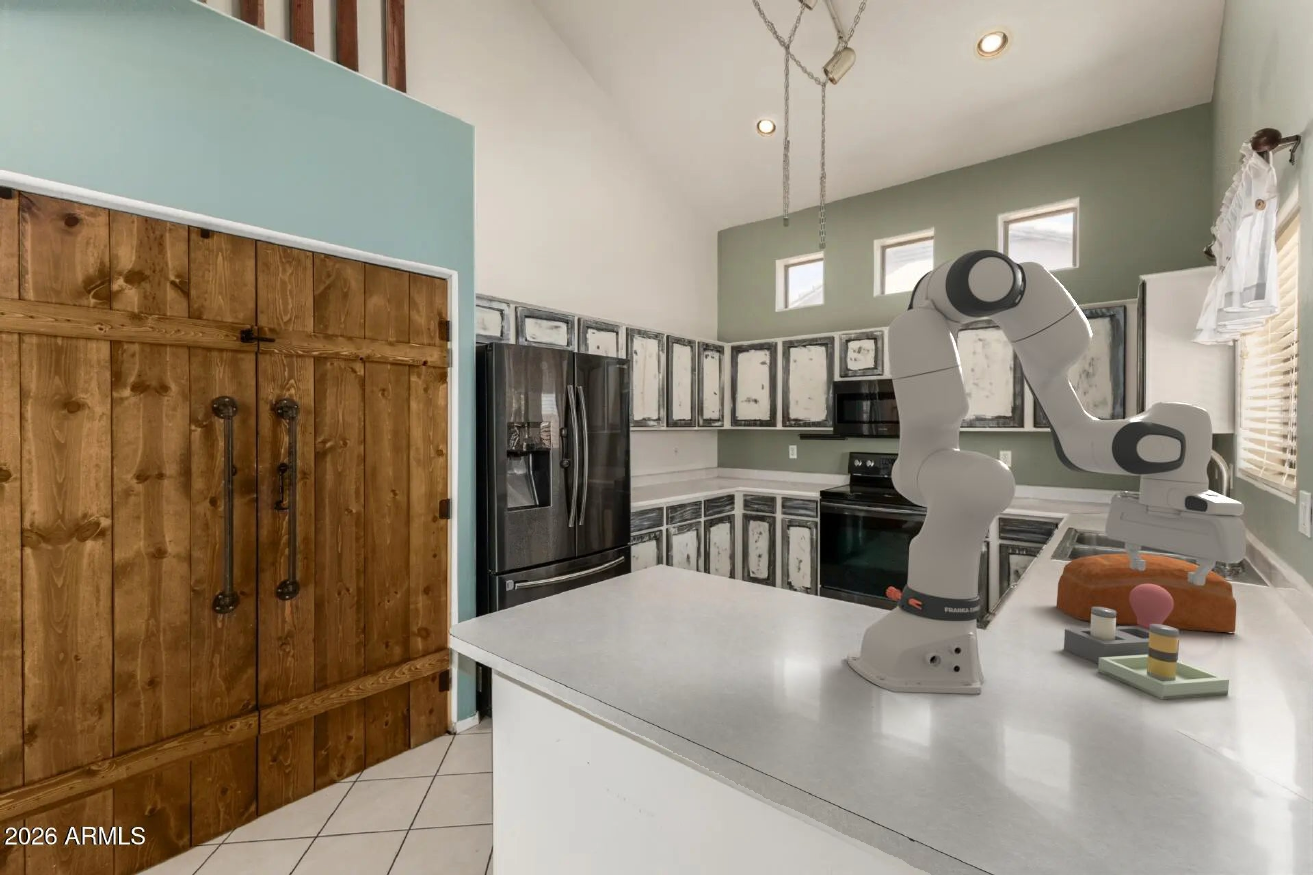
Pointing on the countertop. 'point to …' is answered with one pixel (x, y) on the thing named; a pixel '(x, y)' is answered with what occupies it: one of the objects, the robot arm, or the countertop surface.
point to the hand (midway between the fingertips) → (1165, 576)
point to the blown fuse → (1162, 652)
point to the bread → (1114, 580)
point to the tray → (1185, 686)
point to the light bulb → (1150, 604)
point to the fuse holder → (1108, 643)
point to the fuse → (1103, 623)
